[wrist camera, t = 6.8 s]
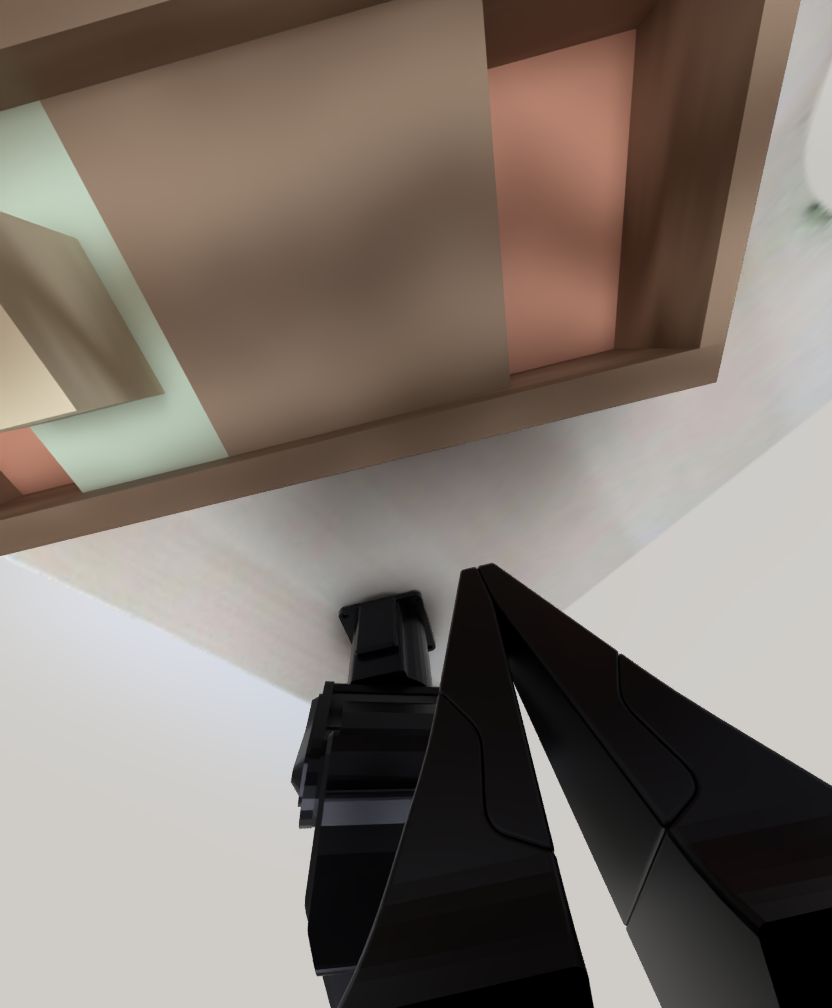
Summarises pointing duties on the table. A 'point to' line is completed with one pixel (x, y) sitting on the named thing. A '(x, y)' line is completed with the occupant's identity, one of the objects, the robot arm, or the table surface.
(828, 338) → the table surface
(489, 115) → the tray
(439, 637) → the table surface
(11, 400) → the maple block
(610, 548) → the table surface
